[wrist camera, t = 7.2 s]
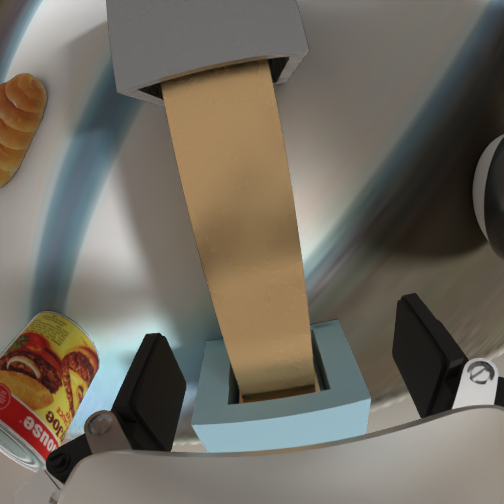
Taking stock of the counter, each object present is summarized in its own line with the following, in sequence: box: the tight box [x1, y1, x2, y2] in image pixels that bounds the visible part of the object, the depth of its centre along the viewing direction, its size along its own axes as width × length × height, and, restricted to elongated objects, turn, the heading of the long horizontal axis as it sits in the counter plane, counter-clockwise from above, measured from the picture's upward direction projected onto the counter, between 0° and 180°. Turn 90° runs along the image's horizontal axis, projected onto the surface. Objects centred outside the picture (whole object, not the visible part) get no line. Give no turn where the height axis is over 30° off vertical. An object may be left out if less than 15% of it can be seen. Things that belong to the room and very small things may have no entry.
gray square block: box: [106, 0, 309, 107], centre depth 11 cm, size 7×8×7 cm
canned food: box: [0, 311, 100, 472], centre depth 17 cm, size 8×8×12 cm
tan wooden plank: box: [161, 59, 320, 404], centre depth 15 cm, size 5×20×5 cm, turn 11°
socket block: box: [192, 319, 371, 453], centre depth 19 cm, size 10×4×8 cm, turn 101°
